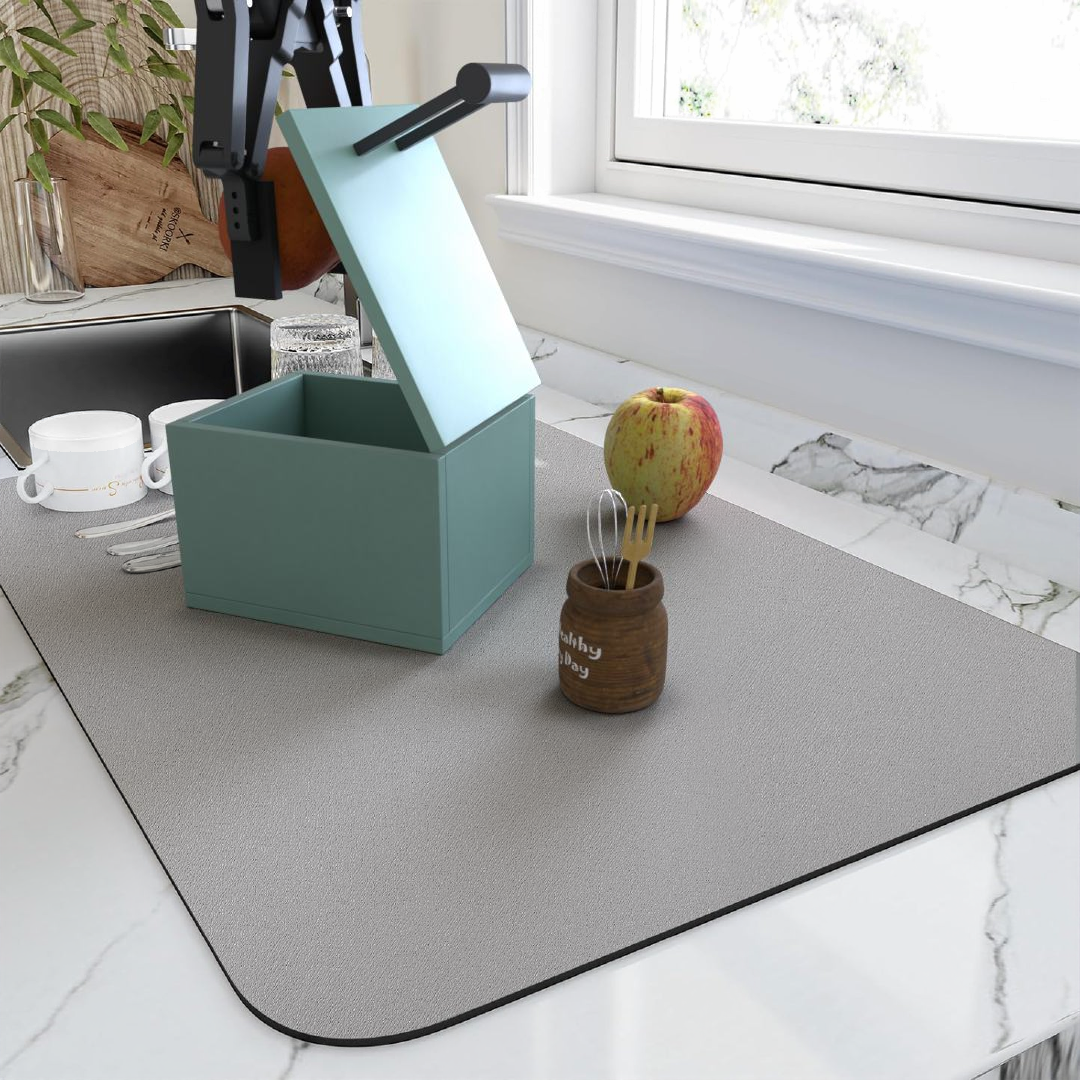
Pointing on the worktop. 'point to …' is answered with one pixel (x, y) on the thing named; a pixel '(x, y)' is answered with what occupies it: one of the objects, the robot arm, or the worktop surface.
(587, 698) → the utensil holder
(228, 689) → the worktop surface
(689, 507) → the apple
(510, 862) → the worktop surface
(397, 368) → the lid
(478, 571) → the teal storage box
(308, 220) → the fruit
